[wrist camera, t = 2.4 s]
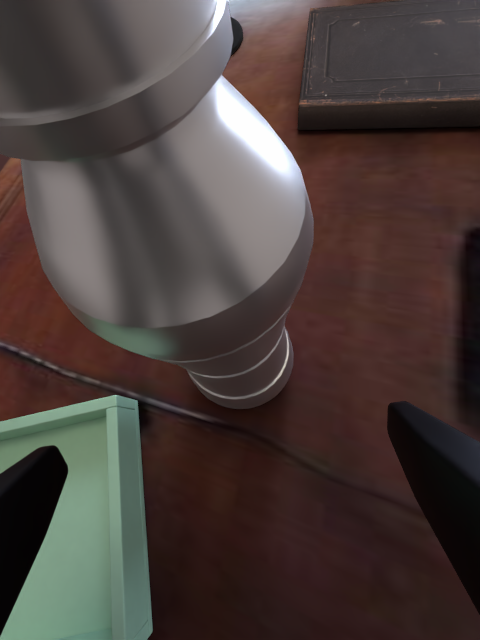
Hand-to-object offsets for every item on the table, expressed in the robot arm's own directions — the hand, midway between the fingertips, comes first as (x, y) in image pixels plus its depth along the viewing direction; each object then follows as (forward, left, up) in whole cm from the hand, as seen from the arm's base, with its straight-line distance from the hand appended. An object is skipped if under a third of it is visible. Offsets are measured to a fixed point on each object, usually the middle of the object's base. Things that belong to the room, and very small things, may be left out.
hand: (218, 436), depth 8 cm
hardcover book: (+29, -23, -12) cm, 39 cm away
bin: (-2, +14, -12) cm, 18 cm away
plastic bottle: (+5, 0, -12) cm, 13 cm away
